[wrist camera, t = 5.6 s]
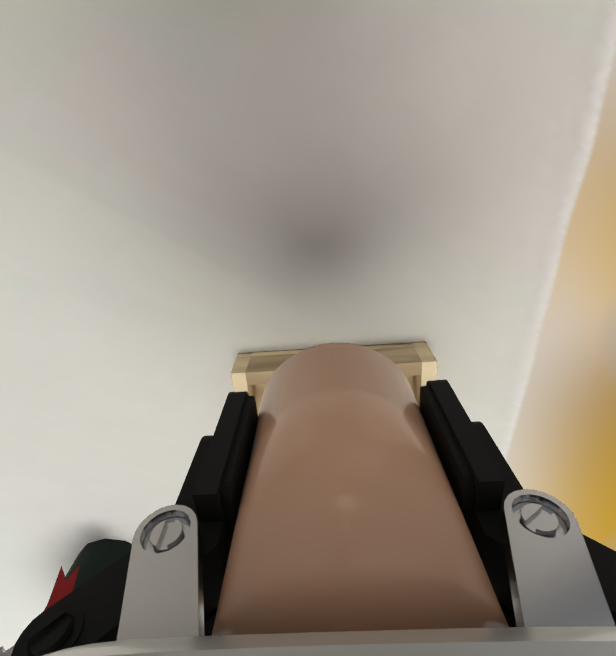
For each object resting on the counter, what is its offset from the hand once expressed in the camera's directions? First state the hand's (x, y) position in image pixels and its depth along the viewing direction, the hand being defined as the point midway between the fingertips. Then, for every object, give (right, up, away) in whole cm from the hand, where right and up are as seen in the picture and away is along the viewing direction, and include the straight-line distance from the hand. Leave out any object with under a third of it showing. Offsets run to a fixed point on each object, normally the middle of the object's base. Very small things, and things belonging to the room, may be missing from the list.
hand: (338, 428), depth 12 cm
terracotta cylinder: (0, 0, +1) cm, 1 cm away
